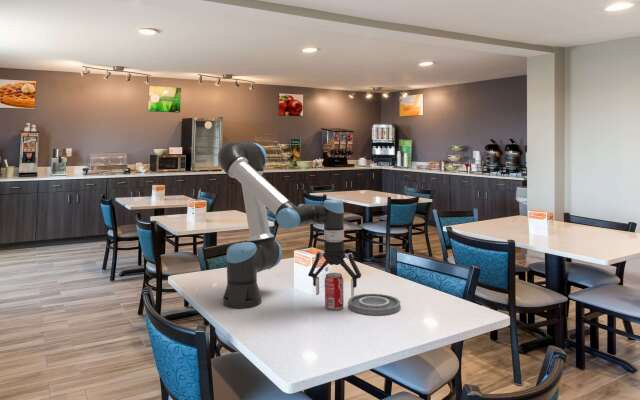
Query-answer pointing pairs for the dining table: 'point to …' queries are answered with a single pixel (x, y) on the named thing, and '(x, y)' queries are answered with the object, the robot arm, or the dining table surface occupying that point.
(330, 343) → the dining table surface
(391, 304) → the tray
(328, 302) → the soda can
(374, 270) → the dining table surface
